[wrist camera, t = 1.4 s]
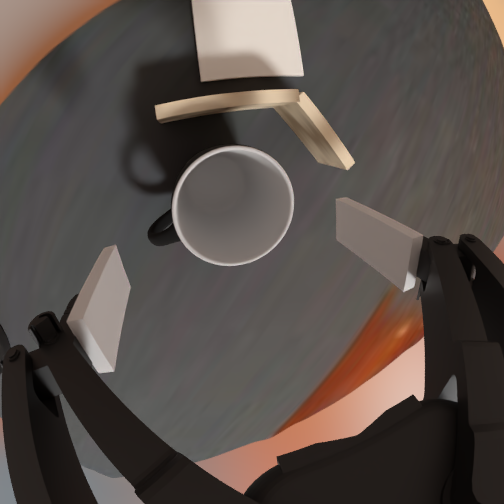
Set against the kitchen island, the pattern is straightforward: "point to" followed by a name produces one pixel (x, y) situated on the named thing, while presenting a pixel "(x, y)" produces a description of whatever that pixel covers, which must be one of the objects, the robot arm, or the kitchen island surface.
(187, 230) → the mug
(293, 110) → the wooden boomerang
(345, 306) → the kitchen island surface
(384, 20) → the kitchen island surface
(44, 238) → the kitchen island surface
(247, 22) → the plate
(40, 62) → the kitchen island surface
